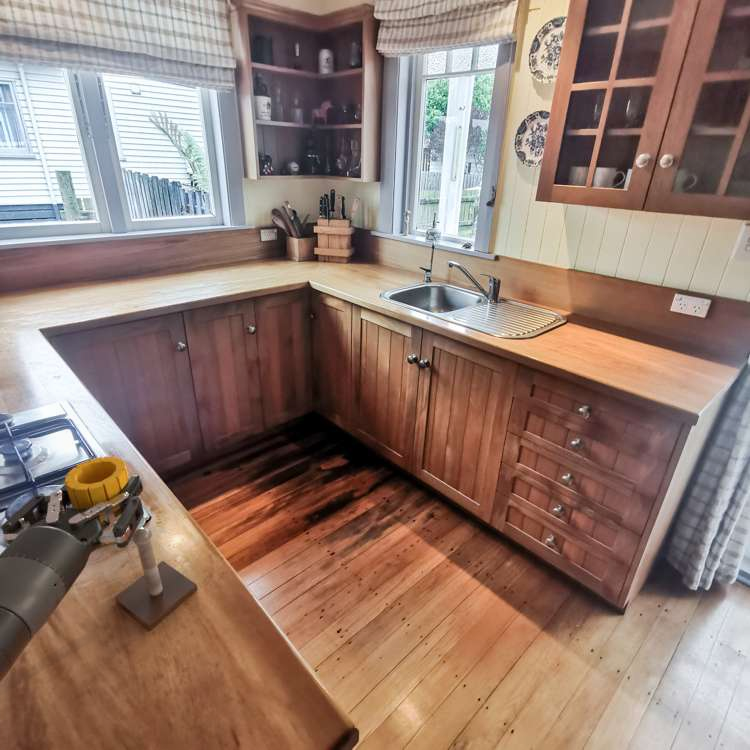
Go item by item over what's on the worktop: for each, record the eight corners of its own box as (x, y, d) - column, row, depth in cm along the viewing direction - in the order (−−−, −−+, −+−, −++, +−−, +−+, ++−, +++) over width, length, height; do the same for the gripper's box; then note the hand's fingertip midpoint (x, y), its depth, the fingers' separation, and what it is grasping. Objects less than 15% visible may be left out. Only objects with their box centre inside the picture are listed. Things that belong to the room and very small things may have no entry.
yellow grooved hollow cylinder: (72, 530, 61) (54, 476, 57) (120, 502, 66) (106, 450, 62) (100, 552, 58) (83, 496, 54) (148, 521, 63) (136, 468, 59)
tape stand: (115, 603, 67) (94, 535, 61) (164, 565, 73) (148, 501, 67) (149, 631, 63) (130, 563, 58) (198, 589, 70) (184, 523, 64)
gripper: (87, 560, 45) (159, 457, 60) (-62, 556, 45) (48, 454, 60) (105, 612, 48) (169, 502, 63) (-34, 608, 48) (63, 499, 63)
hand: (110, 479), depth 62 cm, fingers closed on yellow grooved hollow cylinder, 6 cm apart
